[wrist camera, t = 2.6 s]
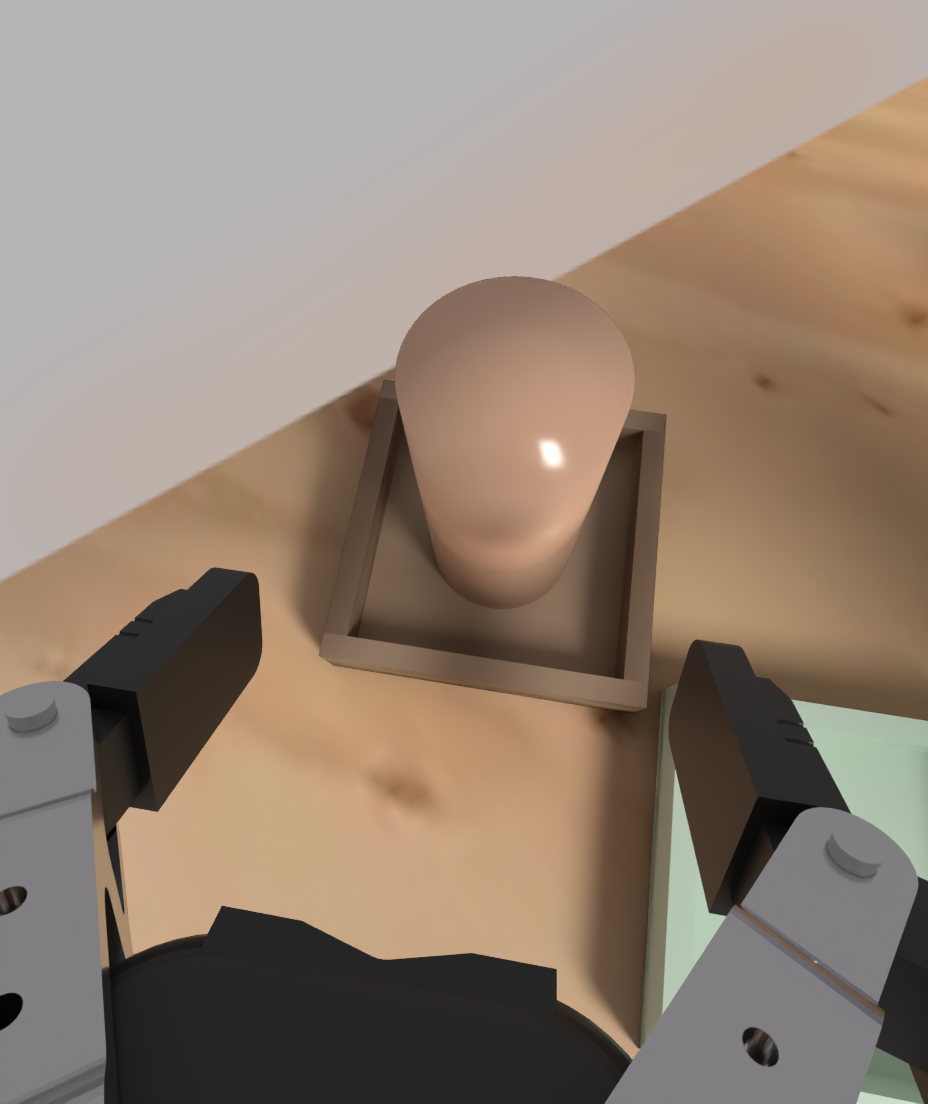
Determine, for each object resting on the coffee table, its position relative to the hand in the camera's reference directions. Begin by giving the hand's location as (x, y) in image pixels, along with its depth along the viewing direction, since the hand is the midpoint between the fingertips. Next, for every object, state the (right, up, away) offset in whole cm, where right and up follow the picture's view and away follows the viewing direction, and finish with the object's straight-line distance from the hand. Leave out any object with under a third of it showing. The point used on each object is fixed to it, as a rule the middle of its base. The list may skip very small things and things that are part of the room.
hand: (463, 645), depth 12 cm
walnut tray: (+1, +2, +13) cm, 13 cm away
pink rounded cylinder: (+1, +2, +12) cm, 13 cm away
